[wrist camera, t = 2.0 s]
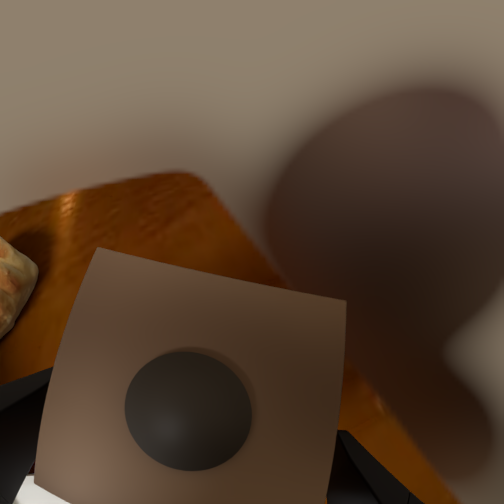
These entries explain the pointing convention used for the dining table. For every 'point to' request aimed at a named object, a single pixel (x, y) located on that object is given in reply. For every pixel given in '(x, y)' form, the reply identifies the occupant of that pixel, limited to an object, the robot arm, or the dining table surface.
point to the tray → (35, 494)
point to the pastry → (14, 284)
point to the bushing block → (191, 390)
